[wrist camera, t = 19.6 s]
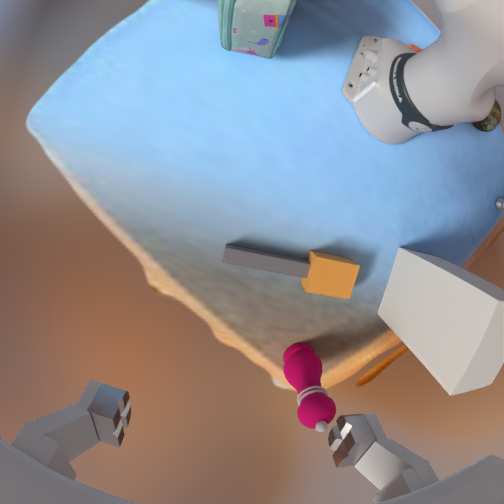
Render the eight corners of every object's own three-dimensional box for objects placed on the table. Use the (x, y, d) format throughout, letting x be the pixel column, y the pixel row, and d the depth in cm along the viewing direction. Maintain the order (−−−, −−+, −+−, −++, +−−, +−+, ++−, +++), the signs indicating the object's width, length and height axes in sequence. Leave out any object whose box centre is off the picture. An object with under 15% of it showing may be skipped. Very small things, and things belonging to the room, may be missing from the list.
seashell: (464, 129, 41) (489, 127, 33) (457, 90, 38) (480, 84, 31) (491, 137, 41) (513, 136, 33) (485, 101, 39) (506, 97, 31)
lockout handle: (228, 233, 44) (227, 238, 41) (351, 259, 47) (360, 265, 43) (221, 268, 46) (219, 276, 42) (341, 290, 48) (349, 298, 44)
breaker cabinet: (398, 246, 47) (498, 300, 21) (441, 257, 48) (531, 305, 23) (377, 313, 50) (450, 395, 25) (421, 317, 51) (493, 383, 26)
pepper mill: (321, 343, 51) (355, 415, 32) (307, 370, 53) (332, 444, 33) (287, 337, 50) (310, 413, 31) (275, 365, 52) (290, 443, 32)
